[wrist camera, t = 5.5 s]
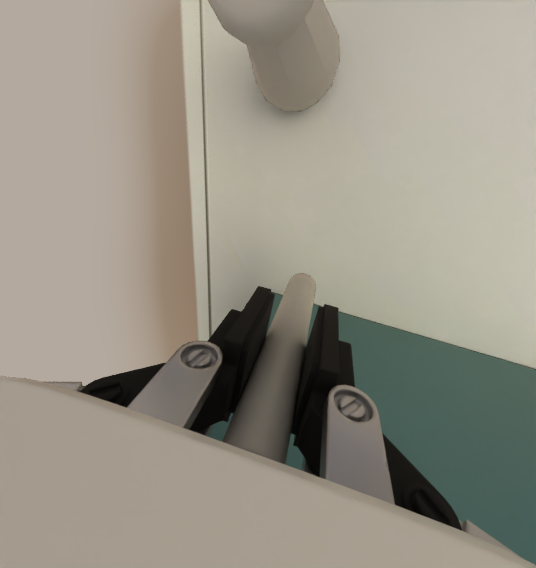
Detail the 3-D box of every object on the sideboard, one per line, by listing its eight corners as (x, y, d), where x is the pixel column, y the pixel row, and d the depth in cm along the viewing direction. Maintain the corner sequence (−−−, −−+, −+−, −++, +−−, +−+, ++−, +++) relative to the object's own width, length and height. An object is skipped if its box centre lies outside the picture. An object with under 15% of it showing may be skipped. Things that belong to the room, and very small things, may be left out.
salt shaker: (320, 127, 21) (301, 78, 9) (254, 104, 21) (158, 31, 10) (353, 33, 18) (381, -193, 7) (276, 10, 19) (180, -239, 7)
